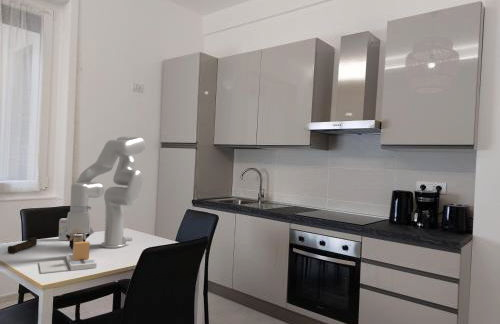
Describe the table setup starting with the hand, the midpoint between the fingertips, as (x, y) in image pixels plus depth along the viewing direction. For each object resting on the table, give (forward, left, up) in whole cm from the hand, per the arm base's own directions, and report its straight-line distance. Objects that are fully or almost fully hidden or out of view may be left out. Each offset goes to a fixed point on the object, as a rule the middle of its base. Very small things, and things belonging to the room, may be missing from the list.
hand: (77, 247), depth 178 cm
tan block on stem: (0, +4, -1) cm, 4 cm away
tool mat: (+11, +13, -4) cm, 18 cm away
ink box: (0, -39, -5) cm, 39 cm away
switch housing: (0, +12, -4) cm, 13 cm away
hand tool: (+21, -25, -5) cm, 33 cm away
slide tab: (0, +12, -2) cm, 13 cm away
